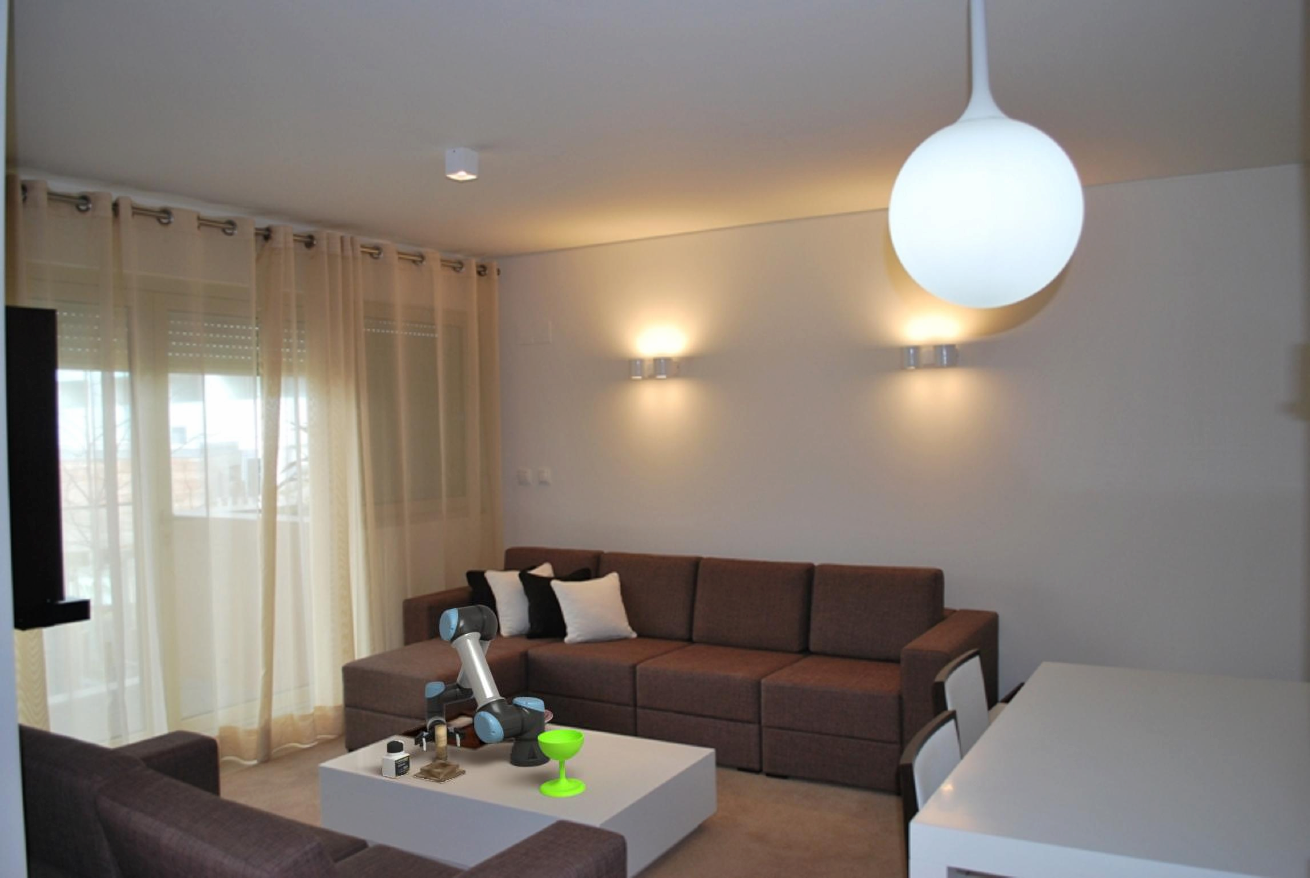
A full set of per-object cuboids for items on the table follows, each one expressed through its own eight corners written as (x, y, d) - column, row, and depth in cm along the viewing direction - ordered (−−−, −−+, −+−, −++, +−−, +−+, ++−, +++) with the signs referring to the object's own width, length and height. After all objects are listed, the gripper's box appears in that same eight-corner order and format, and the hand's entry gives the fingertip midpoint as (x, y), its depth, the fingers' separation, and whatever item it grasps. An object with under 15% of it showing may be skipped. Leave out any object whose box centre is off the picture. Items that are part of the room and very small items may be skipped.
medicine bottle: (395, 779, 346) (394, 746, 346) (381, 776, 349) (380, 743, 349) (410, 773, 352) (409, 740, 352) (396, 770, 356) (395, 737, 356)
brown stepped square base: (465, 773, 350) (465, 763, 350) (442, 783, 340) (442, 774, 340) (437, 767, 357) (437, 758, 357) (413, 777, 347) (413, 767, 347)
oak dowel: (449, 762, 363) (448, 725, 363) (441, 765, 359) (440, 728, 359) (441, 760, 365) (440, 723, 365) (433, 764, 361) (432, 726, 361)
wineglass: (588, 794, 325) (587, 741, 326) (541, 799, 322) (539, 745, 322) (582, 778, 341) (581, 727, 341) (537, 783, 338) (535, 731, 338)
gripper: (468, 734, 383) (474, 751, 362) (406, 741, 376) (408, 759, 355) (468, 715, 383) (474, 731, 362) (405, 722, 376) (408, 738, 355)
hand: (441, 744), depth 358 cm, fingers open, 12 cm apart
